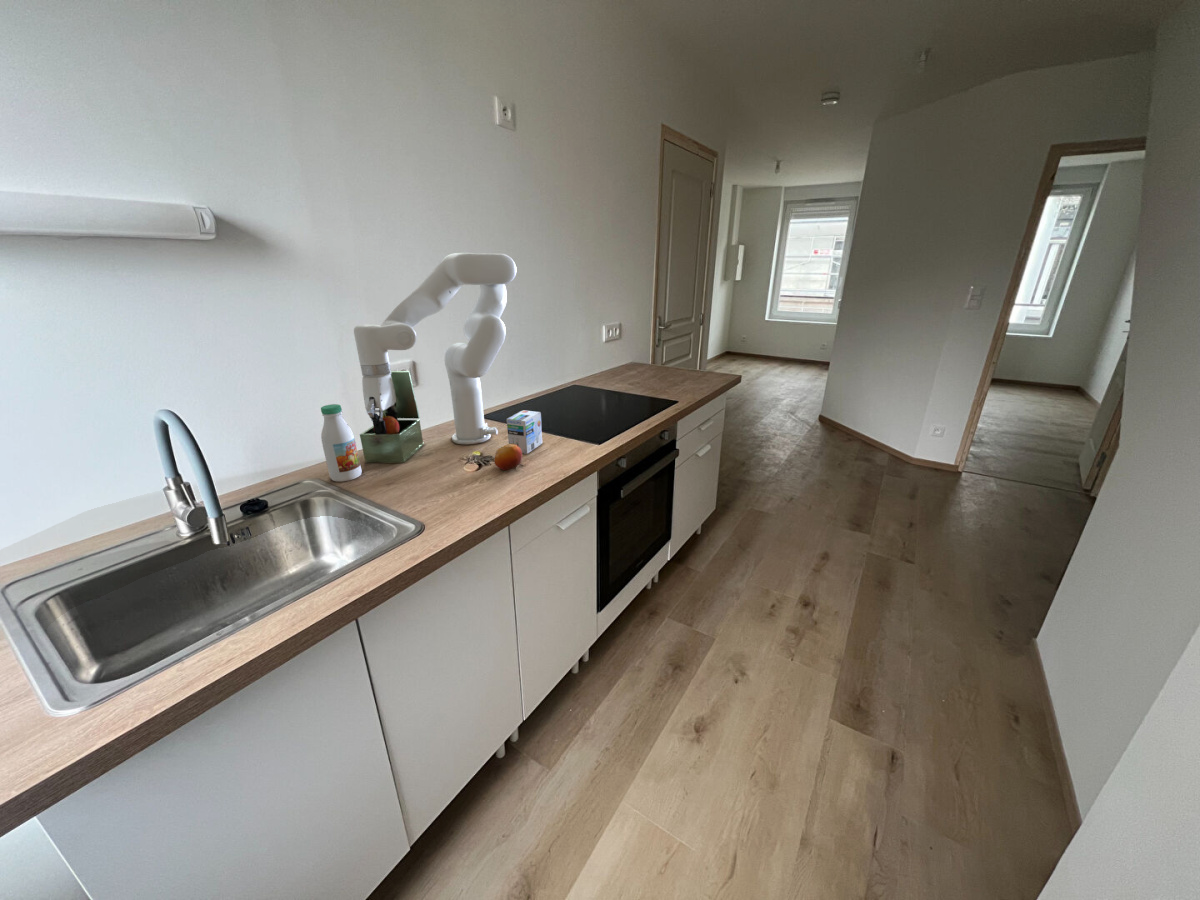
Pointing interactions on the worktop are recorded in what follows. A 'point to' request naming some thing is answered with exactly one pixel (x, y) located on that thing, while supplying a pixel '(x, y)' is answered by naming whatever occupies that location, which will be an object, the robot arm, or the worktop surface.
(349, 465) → the milk bottle
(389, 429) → the fruit
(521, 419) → the light bulb box
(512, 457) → the fruit
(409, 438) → the bread bin
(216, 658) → the worktop surface
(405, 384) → the lid
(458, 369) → the robot arm
